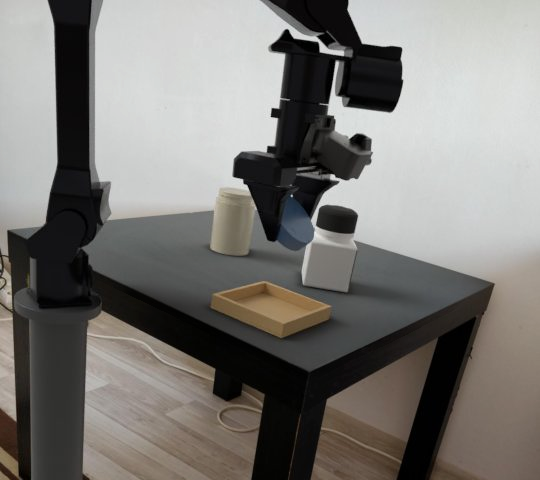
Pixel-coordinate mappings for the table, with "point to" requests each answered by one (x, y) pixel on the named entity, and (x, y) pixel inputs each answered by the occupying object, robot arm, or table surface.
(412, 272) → the table surface
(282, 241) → the jar lid
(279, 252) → the table surface
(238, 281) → the table surface
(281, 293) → the tray
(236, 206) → the jar
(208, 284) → the table surface
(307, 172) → the robot arm
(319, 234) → the medicine bottle
